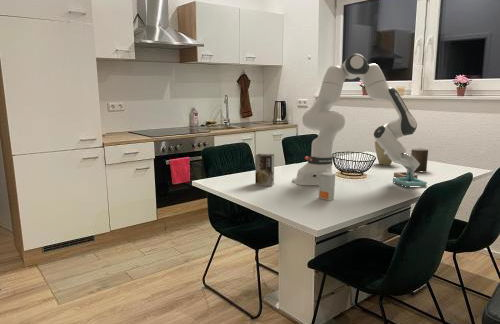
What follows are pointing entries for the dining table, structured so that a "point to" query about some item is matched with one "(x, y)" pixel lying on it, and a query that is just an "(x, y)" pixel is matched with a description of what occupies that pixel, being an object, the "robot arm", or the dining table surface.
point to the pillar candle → (420, 158)
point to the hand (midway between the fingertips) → (411, 169)
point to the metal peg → (409, 175)
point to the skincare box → (326, 186)
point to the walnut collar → (403, 175)
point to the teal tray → (405, 183)
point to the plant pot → (381, 155)
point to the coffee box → (264, 169)
